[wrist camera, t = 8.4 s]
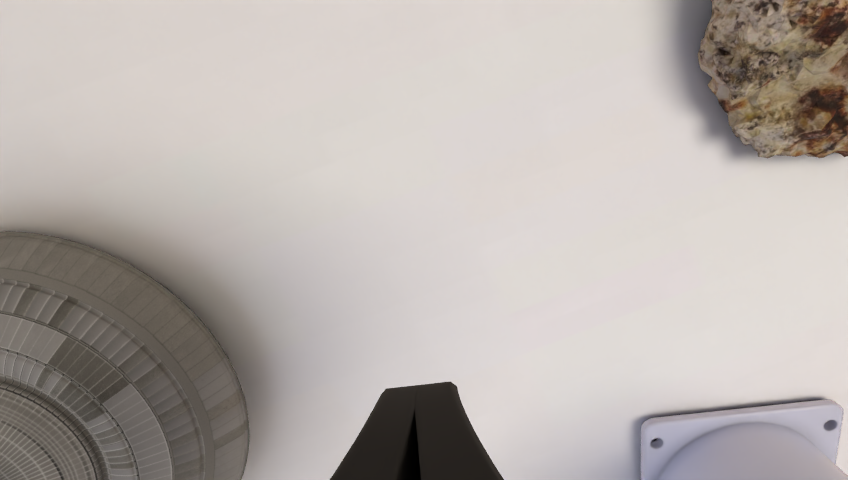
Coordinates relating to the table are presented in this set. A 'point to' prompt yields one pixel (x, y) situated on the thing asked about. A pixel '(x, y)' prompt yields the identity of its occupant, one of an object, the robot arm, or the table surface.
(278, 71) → the table surface
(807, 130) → the mineral rock
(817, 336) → the table surface
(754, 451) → the robot arm
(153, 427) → the flying saucer
